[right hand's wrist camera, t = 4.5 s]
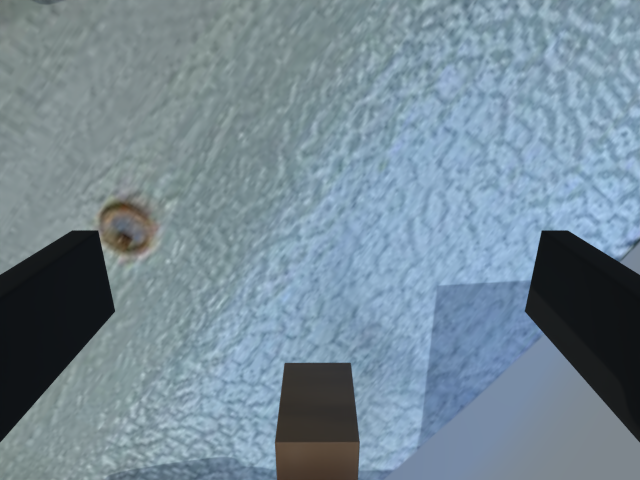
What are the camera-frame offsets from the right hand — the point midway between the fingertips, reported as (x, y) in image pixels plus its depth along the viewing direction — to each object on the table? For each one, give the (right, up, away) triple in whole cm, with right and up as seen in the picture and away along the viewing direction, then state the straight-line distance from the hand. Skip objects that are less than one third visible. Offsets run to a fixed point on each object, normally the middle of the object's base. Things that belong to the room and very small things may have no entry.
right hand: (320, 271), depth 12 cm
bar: (0, -21, +27) cm, 34 cm away
